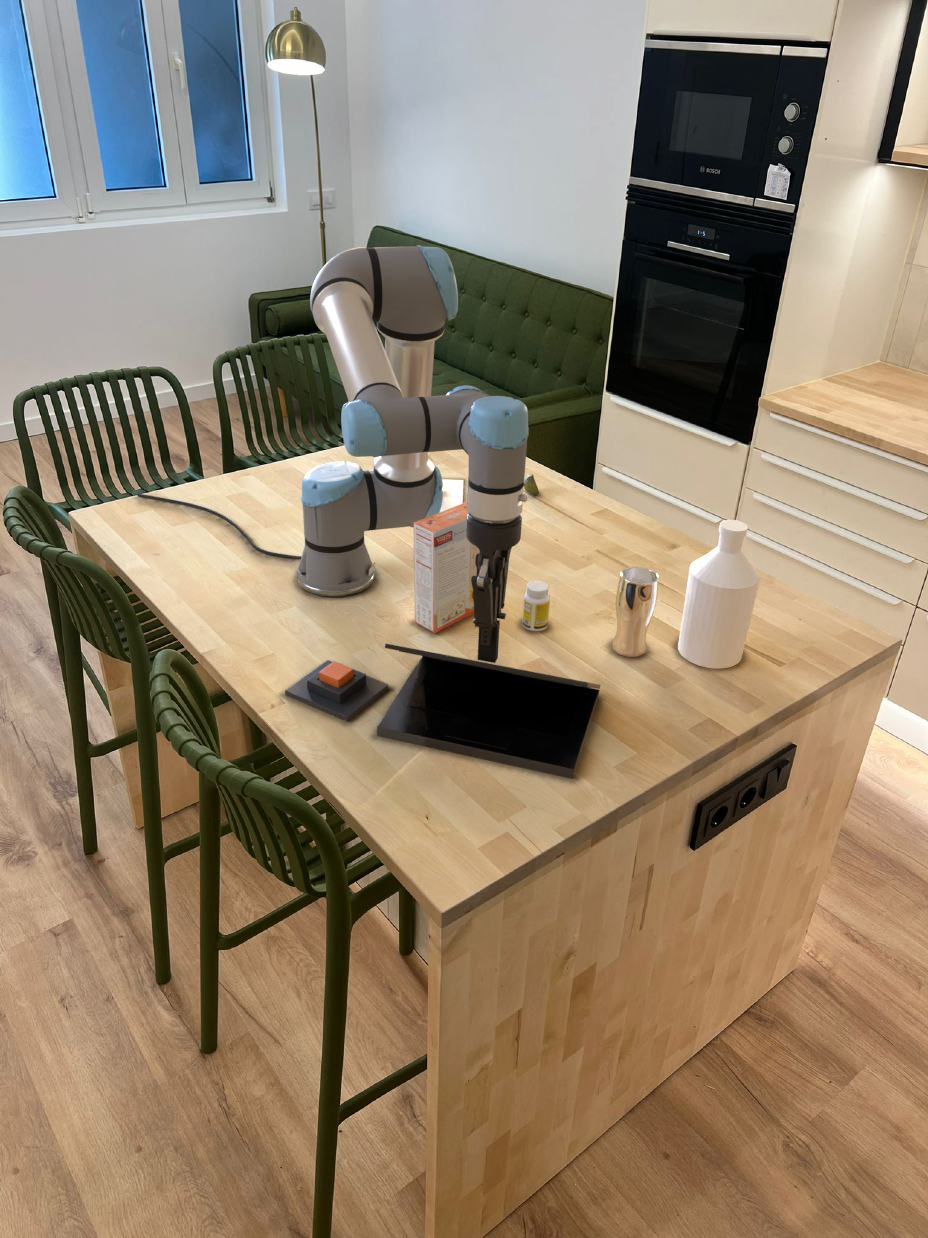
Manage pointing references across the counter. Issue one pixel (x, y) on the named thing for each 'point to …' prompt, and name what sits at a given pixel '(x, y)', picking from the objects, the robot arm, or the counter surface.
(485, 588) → the robot arm
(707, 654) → the bottle
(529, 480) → the lime
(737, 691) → the counter surface
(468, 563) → the cracker box
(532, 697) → the laptop
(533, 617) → the supplement bottle
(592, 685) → the laptop screen
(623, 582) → the beer glass
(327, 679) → the key
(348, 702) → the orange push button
